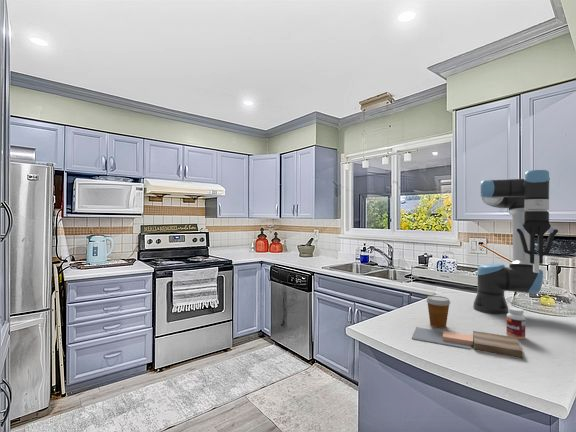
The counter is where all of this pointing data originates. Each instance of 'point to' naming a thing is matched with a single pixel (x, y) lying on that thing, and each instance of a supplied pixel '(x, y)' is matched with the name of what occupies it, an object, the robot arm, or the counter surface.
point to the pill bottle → (516, 323)
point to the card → (457, 337)
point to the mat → (435, 337)
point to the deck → (497, 344)
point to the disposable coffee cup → (438, 310)
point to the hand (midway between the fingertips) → (536, 272)
